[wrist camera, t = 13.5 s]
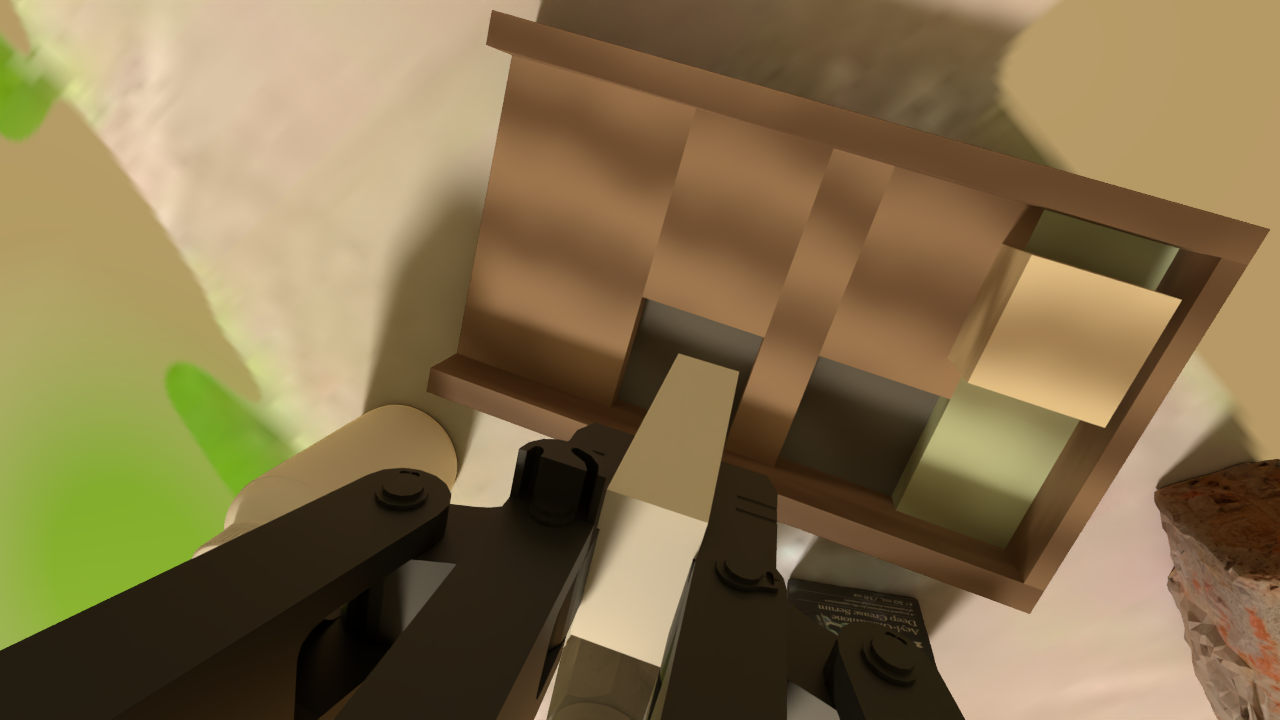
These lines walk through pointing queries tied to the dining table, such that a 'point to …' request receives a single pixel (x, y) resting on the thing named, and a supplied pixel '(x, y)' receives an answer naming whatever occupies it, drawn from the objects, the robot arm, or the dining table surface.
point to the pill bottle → (342, 466)
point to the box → (859, 610)
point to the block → (1059, 334)
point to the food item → (1229, 583)
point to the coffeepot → (600, 684)
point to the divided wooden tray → (808, 299)
